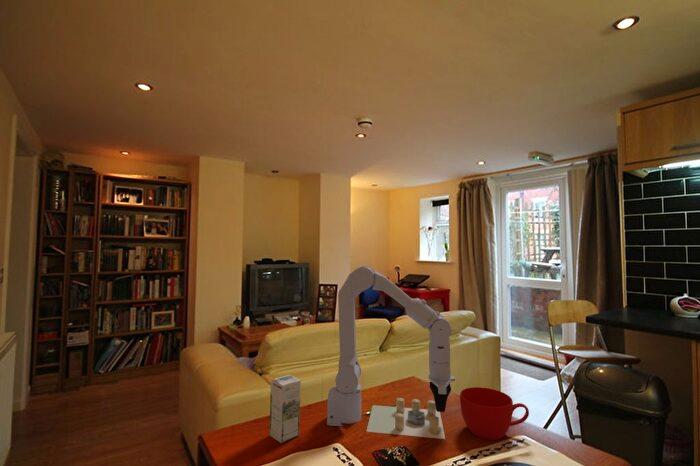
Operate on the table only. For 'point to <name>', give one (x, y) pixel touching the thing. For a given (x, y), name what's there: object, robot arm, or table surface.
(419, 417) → the grey faceted polyhedron
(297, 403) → the syrup box
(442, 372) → the robot arm
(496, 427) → the ceramic cup
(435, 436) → the board
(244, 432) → the table surface
